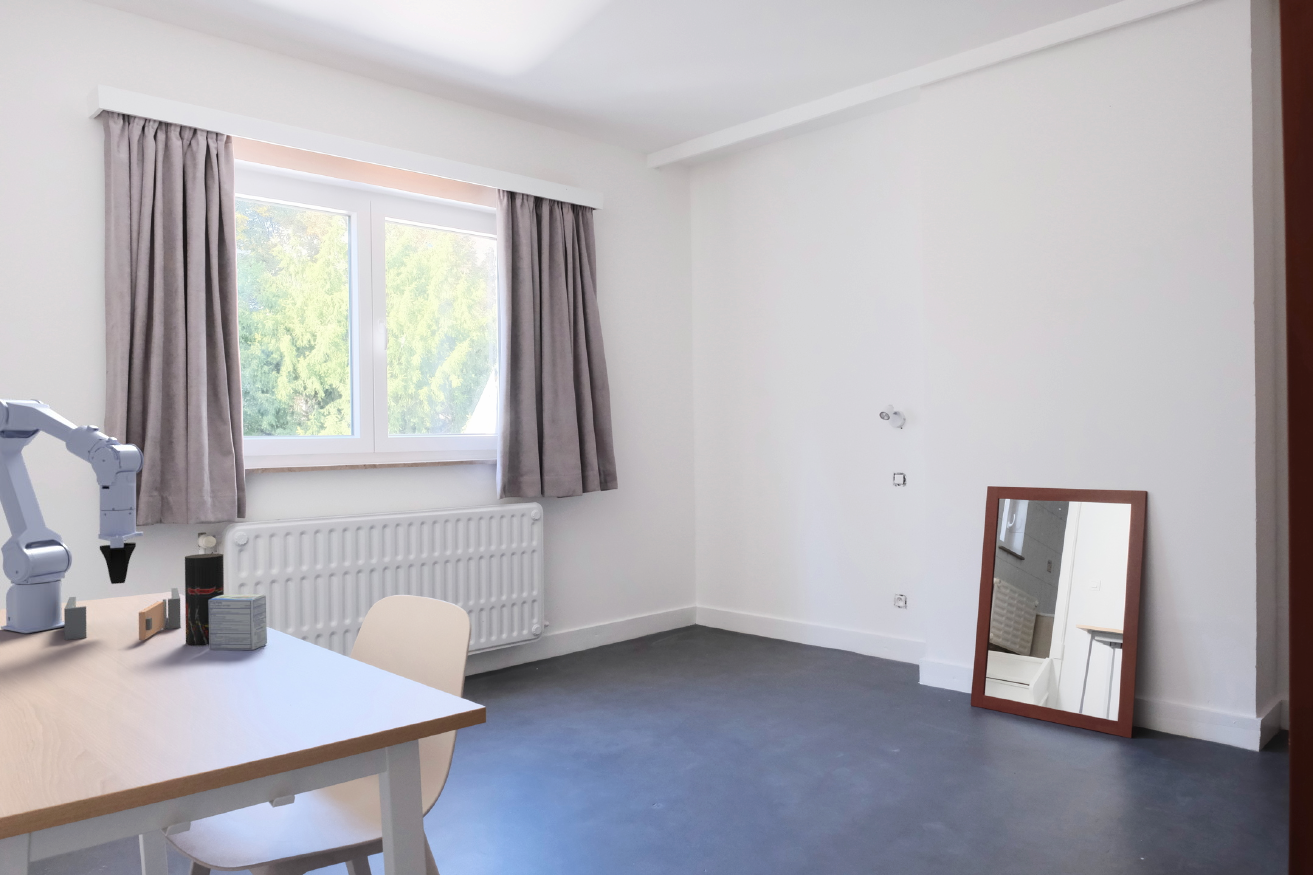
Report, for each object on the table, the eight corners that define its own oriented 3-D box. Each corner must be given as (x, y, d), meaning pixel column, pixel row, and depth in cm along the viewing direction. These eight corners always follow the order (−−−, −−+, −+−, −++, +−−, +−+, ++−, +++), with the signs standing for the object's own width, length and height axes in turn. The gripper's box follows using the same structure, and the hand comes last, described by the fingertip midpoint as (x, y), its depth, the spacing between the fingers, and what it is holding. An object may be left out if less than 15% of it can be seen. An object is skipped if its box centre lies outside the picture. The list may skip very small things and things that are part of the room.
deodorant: (212, 645, 147) (212, 557, 147) (178, 646, 147) (177, 558, 147) (230, 637, 153) (229, 553, 153) (197, 638, 153) (196, 553, 153)
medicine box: (267, 644, 147) (267, 594, 147) (253, 651, 143) (252, 598, 143) (224, 644, 148) (223, 593, 148) (208, 650, 144) (207, 598, 144)
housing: (69, 626, 165) (69, 597, 165) (177, 615, 174) (177, 587, 174) (64, 639, 153) (64, 608, 153) (180, 627, 162) (180, 598, 162)
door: (138, 639, 150) (138, 612, 150) (157, 627, 160) (157, 601, 160) (149, 639, 150) (148, 611, 150) (167, 626, 160) (167, 601, 160)
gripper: (143, 511, 155) (143, 586, 155) (143, 506, 168) (143, 575, 168) (96, 513, 151) (96, 590, 151) (100, 507, 164) (100, 578, 164)
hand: (118, 583), depth 159 cm, fingers closed
